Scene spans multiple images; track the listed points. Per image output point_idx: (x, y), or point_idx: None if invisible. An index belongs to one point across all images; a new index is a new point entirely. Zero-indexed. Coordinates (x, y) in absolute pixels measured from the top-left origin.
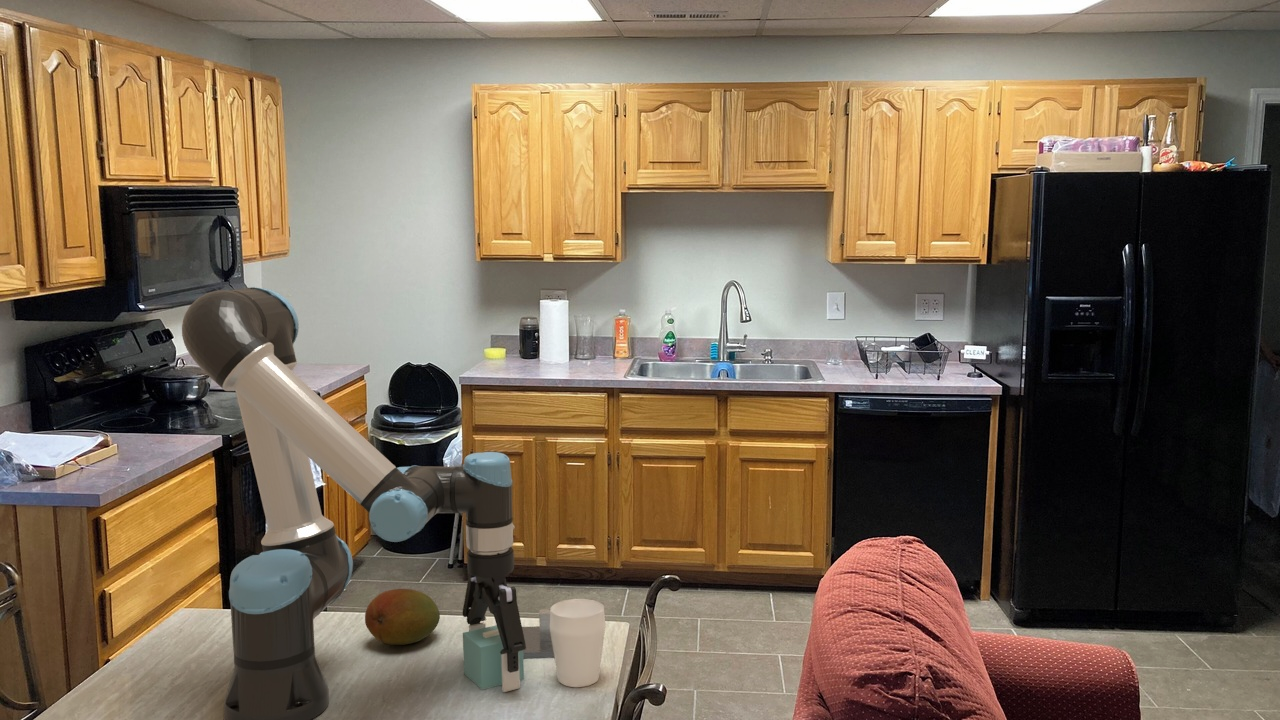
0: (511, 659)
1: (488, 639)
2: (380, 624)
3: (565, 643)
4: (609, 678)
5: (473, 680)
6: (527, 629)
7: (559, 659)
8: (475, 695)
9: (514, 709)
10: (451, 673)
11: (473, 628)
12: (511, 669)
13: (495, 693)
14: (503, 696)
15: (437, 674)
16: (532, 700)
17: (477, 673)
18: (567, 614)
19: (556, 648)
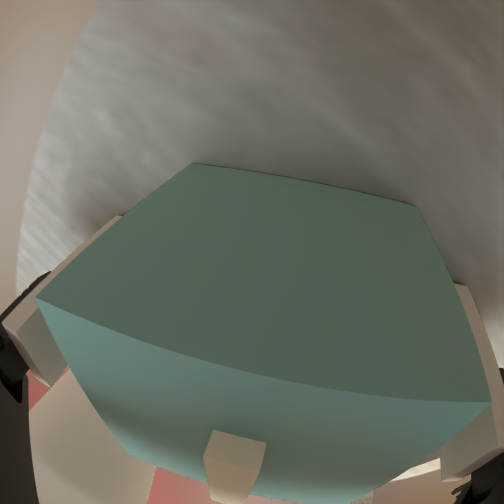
0: (9, 311)
1: (170, 419)
2: None
3: None
4: None
5: (291, 181)
6: (431, 454)
7: (69, 390)
8: (157, 112)
9: (29, 178)
10: (463, 167)
11: (484, 441)
12: (38, 282)
13: (134, 188)
14: (102, 198)
15: (500, 115)
16: (58, 245)
17: (214, 193)
18: None
19: (57, 415)
